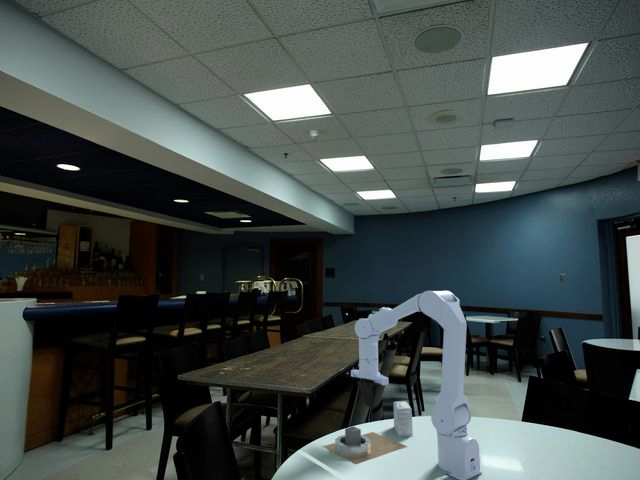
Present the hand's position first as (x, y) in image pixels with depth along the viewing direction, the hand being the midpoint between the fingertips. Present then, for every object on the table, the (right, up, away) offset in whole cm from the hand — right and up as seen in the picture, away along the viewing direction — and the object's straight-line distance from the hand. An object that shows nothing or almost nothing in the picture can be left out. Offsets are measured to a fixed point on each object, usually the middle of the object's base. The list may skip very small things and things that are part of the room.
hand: (369, 405), depth 119 cm
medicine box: (+11, -11, +4) cm, 16 cm away
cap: (-6, -8, -10) cm, 14 cm away
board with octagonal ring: (-2, -9, -8) cm, 12 cm away
